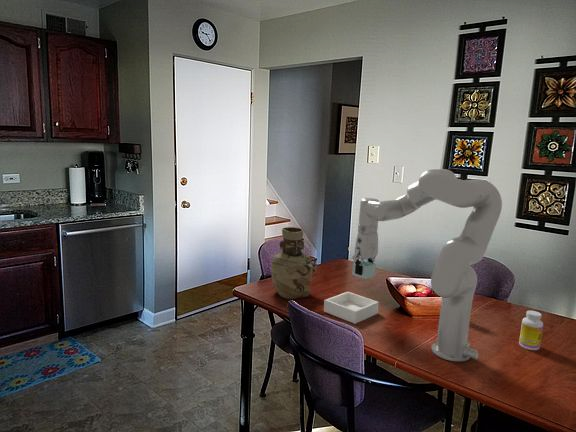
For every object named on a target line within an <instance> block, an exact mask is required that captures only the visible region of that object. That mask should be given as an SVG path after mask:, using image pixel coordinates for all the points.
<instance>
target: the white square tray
mask: <svg viewBox="0 0 576 432" xmlns="http://www.w3.org/2000/svg"><path fill="white" fill-rule="evenodd" d="M323 301H324V302H323V312H324V313H327V314H329V315H332V316H335V317H337V318H339V319H342V320H344V321H346V322H350V323H352V324H354V325H356V324H357V323H360V322H362V321H364V320H367V319H369V318H371V317H373V316H376V315H378V313H379V303H380V302H379V301H377V300H374V299H371V298H368V297H365V296H363V295H359V294H357V293H353V292H351V291H345V292H343V293H340V294H338V295H334V296H332V297H329V298H326V299H324V300H323Z"/></svg>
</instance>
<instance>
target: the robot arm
mask: <svg viewBox="0 0 576 432" xmlns="http://www.w3.org/2000/svg"><path fill="white" fill-rule="evenodd" d="M435 200H437V201H439V202H441V203H445V204H448V205H451V206H452V207H456V208H460V209H462V208H463V209H466V208H473V209H472V211H471V213H470V214H469V216H468V217H467V219H466V221H465V223H464V226H463V229H462V231H461V234H460V235H459V236H458V237H454V238H451V239H449V240H447V242H445V243H444V245H443V246H442V248H441V249H440V252H439V255H438V256H437V257H438V258H437V260H436V263H435V265H434V268H433V271H432V274H431V278H430V285H431V289H432V292H433V291H434V292H435V293H436V294H437V295H438V296H440V297H442V302H441V303H440V310H439V318H438V328H437V329H438V330H437V336H436V337H437V339H436V342H433V344H432V345H431V351H432V353H433V354H434V355H435V356H437V357H438V358H440V359H443V360H446V361H450V362H456V363H457V362H466V361H468V360H470V358H472V359H475V360H477V359H478V358H479V353H478V350H476V349H473V348H471V347H470V345H471V343H470V342H468V338H469V337H468V336H469V328H470V321H471V312H472V306H473V300H474V296H475V292H476V288H477V285H478V284H477V283H478V276H477V273H476V271H475V269H474V268H473V267H472V265H474V264H477V263H479V262H481V261H482V260H483V258H484V256H485V254H486V251H487V248H488V246H489V244H490V241H491V240H492V236H493V233H494V230H495V228H496V226H497V224H498V221H499V218H500V217H501V212H502V210H503V209H502V207H503V202H502V201H503V199H502V195H501V193H500V191H499V190H498V189H497V187H496V186H495V185H494V184H493V183H491V182H490V181H488V180H485V179H478V178H477V179H464V180H463V179H460V178H458V177H457V175H456V174H455V173H454V172H453V171H451V169H450V170H449V169H448V168H447V169H446V168H439V169H428V170H426V171H424V172H423V173H421V174H420V176H419V177H418V180H417V181H415V182H413V183H411V184H410V185H409V186H407V188H406V193H405V194H403V196H399V197H398V198H396V199H391V200H389V199H388V200H384V201H383V200H381V201H380V200H379V199H378V198H374V197H366V198H365V197H364V198H362V199H361V200H360V205H359V216H358V227H357V235H356V240H355V246H354V254H353V256H352V257H351V258H352V259H353V263H355V264H356V266H355V274H358V275H362V271H363V266H362V263H363V261H365V260H366V261H367V262H371V263H374V262H375V261H376V260H375V259H376V257H377V256H378V255H379V254H378V253H379V232H378V229H379V222H387V221H394V220H398V219H401V218H404V217H406V216H408V215H410V214H412V213H414V212H416V211H417V210H419V209H421V207H424V206H425V205H427V204H429V203H431V202H433V201H435Z"/></svg>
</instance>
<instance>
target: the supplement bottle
mask: <svg viewBox="0 0 576 432" xmlns="http://www.w3.org/2000/svg"><path fill="white" fill-rule="evenodd" d="M525 314H526V315H525V316H526V317H524V318H522V321H521V327H520V335H519V341H518V344H519V346H520V347H521V348H523V349H526V350H530V351H538V350H540V349H541V341H542V335H543V330H544V322H543V321H542V320H541V319H542V315H543V314H542V313H540V312H538V311H535V310H526V313H525Z"/></svg>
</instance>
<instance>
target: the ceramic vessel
mask: <svg viewBox="0 0 576 432" xmlns="http://www.w3.org/2000/svg"><path fill="white" fill-rule="evenodd" d="M281 234H282V238H283V239H282V240H281V241H280V242H279V249H280V250H281V251H280V252H278V253H277V254H276V255H274V256H273V258H272V261H271V265H270V273H271V280H272V284H273V288H274V289H275V292H276V293H277V294H278V295H279V296H280V297H281V298H283V299H284V300H296V299H303V298H304V299H305V298H308V296H309V295H310V282H311V281H312V278H313V277H312V276H313V273H314V274H317V269H318V264H317V263H316V262H313V261H312V259H311V257H310V256H309V255H308V254H307V253H305V252H304V251H303V250H304V249H305V242H304V240H302V239H303V236H304V229H303V228H300V227H295V226H291V227H290V226H288V227H283V228H282V229H281Z"/></svg>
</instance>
